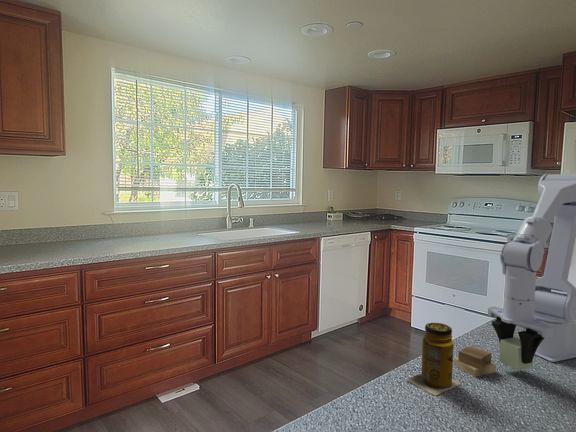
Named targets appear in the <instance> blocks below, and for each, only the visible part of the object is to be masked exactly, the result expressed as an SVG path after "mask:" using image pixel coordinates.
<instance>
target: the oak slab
mask: <svg viewBox="0 0 576 432" xmlns="http://www.w3.org/2000/svg"><path fill="white" fill-rule="evenodd" d="M453 365H454V366H455V367H457V368H458V369H460V370H462V371H464V372H466V373H467V374H469V375H471V376H472V377H475V378H476V377H479V376H485V375H489V374H495V373H496V370H497V369H496V368H497V365H496V364H494V363H492V362H491V363H489V364H488V365H486V366H484V367H483V368H481V369H480V368H477V367H474V366H472V365H469V364H466V363H463V362H461V361H458V357H457V356H456V357H453Z"/></svg>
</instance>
